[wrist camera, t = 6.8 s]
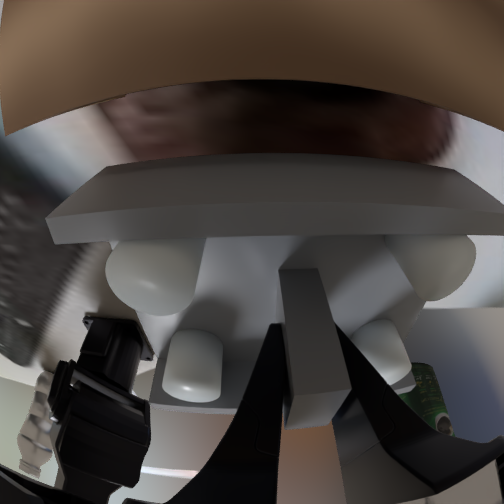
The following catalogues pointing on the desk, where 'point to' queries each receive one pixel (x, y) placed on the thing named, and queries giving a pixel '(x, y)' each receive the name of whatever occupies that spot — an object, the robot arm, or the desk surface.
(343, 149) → the desk surface
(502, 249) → the desk surface
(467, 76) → the tan rectangular block
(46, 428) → the plastic bottle
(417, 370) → the coffee jar
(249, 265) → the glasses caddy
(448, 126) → the desk surface
